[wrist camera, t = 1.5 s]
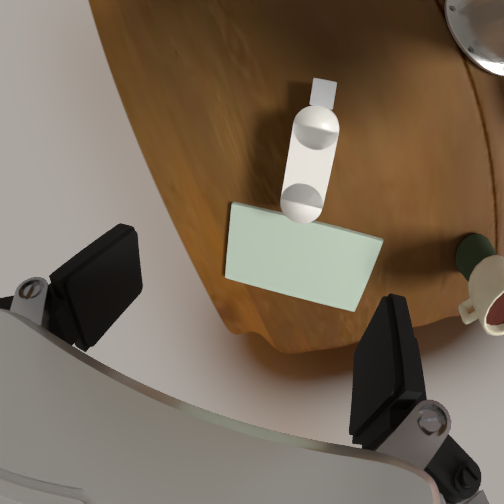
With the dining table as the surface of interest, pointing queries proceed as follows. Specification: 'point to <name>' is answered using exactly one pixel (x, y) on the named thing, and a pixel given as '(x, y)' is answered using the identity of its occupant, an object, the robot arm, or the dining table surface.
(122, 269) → the robot arm
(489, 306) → the character mug
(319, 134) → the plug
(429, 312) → the dining table surface
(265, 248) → the green board
